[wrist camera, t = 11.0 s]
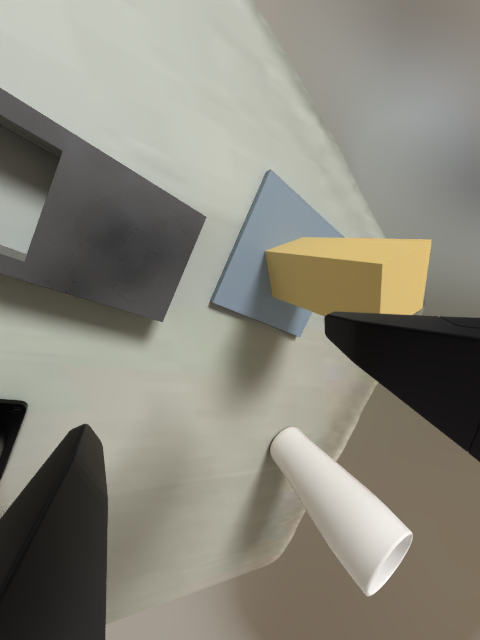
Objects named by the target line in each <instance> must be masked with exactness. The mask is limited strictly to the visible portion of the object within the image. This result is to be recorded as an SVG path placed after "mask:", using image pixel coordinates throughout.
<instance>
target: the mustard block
mask: <svg viewBox="0 0 480 640" xmlns="http://www.w3.org/2000/svg"><path fill="white" fill-rule="evenodd" d="M431 242H432V240H418V239H370V238H321V237H302V238H299V239H296V240H294V241H291V242H288V243H285V244H283V245H280V246H277V247H274V248H272V249H269V250H266V251H265V255H266V261H267V266H268V272H269V278H270V284H271V289H272V295H273V297H275V298H277V299H280V300H283V301H285V302H288V303H291V304H293V305H296V306H299V307H301V308H304V309H307V310H309V311H312V312H315V313H317V314H320V315H323V316H326V315H327V314H329V313H331V312H334V311H337V312H358V313H379V314H400V315H413V314H414V313H416V312H417V311H419V310H420V309H422V306H423V299H424V292H425V284H426V277H427V270H428V263H429V256H430V248H431Z"/></svg>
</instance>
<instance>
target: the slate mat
mask: <svg viewBox="0 0 480 640" xmlns="http://www.w3.org/2000/svg"><path fill="white" fill-rule="evenodd" d="M302 237H321V238H345V237H343V236H342V235H341V234H340V233H339V232H338V231H337V230H336V229H335V228H334V227H333V226H332V225H330V224H329V223H328V222H327V221H326V220H325V219H324V218H323V217H322V216H321V215H320V214H319V213H317V212H316V211H315V210H314V209H313V208H312V207H311V206H310V205H309V204H308V203H307V202H306V201H304V200H303V199H302V198H301V197H300V196H299V195H298V194H297V193H296V192H295V191H294V190H293V189H291V188H290V187H289V186H288V185H287V184H286V183H285V182H284V181H283V180H282V179H281V178H280V177H278V176H277V175H276V174H275V173H274V172H273V171H272V170H268V171H267V172H266V174H265V176H264V179H263V181H262V183H261V185H260V188H259V190H258V192H257V195H256V197H255V199H254V202H253V204H252V206H251V208H250V211H249V213H248V215H247V218H246V220H245V222H244V225H243V227H242V229H241V231H240V234H239V236H238V238H237V241H236V243H235V245H234V247H233V250H232V252H231V254H230V257H229V259H228V261H227V264H226V266H225V268H224V270H223V273H222V275H221V277H220V280H219V282H218V284H217V287H216V289H215V291H214V293H213V296H212V298H211V300H210V301H211V302H213V303H215V304H218V305H220V306H223V307H225V308H228V309H230V310H233V311H235V312H238V313H240V314H243V315H245V316H248V317H250V318H253V319H255V320H258V321H260V322H263V323H266V324H268V325H271V326H273V327H276V328H278V329H281V330H283V331H286V332H288V333H291V334H293V335H296V336H298V337H300V336H301V334H302V332H303V330H304V328H305V326H306V324H307V321H308V319H309V317H310V315H311V313H312V311H309V310H307V309H304V308H301V307H299V306H296V305H293V304H291V303H288V302H285V301H283V300H280V299H277V298H275V297H273V295H272V289H271V284H270V278H269V272H268V266H267V261H266V255H265V251H266V250H269V249H272V248H274V247H277V246H280V245H283V244H285V243H288V242H291V241H294V240H296V239H299V238H302Z"/></svg>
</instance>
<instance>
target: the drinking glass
mask: <svg viewBox="0 0 480 640" xmlns="http://www.w3.org/2000/svg"><path fill="white" fill-rule="evenodd" d="M270 454H271V457H272V459H273V460H274V462H275V463H276V464H277V466H278V467H279V468H280V470H281V471H282V473H283V474H284V476H285V478H286V479H287V481H288V482H289V484H290V485H291V487H292V489H293V490H294V492H295V493H296V495H297V496H298V498H299V500H300V501H301V503H302V504H303V506H304V508H305V509H306V511H307V512H308V514H309V515H310V517H311V519H312V520H313V522H314V523H315V525H316V527H317V528H318V530H319V531H320V533H321V535H322V536H323V538H324V539H325V541H326V542H327V544H328V545H329V547H330V548H331V550H332V551H333V552H334V554H335V555H336V557H337V558H338V560H339V561H340V562H341V564H342V565H343V566H344V568H345V569H346V570H347V572H348V573H349V574H350V576H351V577H352V578H353V580H354V581H355V582H356V583H357V584H358V586H359V587H360V589H361V590H362V591H363V592H364V594H365V595H366V596H371V595H373V594H374V593H376V592H377V591H378V590H379V589H380V588H381V587H382V586H383V585H384V583H385V582H386V581H387V580H388V579H389V578H390V576H391V575H392V574H393V573H394V571H395V570H396V568H397V567H398V566H399V564H400V563H401V561H402V559H403V558H404V556H405V554H406V553H407V551H408V549H409V547H410V545H411V542H412V539H413V534H412V532H411V531H410V530H409V529H408V528H407V527H406V526H405V525H404V524H403V523H402V522H401V521H400V520H399V519H398V518H397V516H396V515H394V514H393V512H391V510H390V509H389V508H388V507H387V506H386V505H384V504H383V503H382V502H381V501H380V500H379V499H378V498H377V497H376V496H375V495H374V494H373V493H371V491H369V490H368V489H367V488H366V487H365V486H364V485H363V484H361V483H360V482H359V481H358V480H357V479H356V478H354V477H353V476H352V475H350V473H348V472H347V471H346V470H345V469H344V468H343V467H341V466H340V465H339V464H338V463H337V462H335V461H334V460H333V459H332V458H331V457H329V456H328V455H327V454H326V453H325V452H324V451H322V450H321V449H320V448H319V447H318V446H317V445H315V444H314V443H313V442H312V441H311V440H310V439H308V438H307V437H306V436H305V435H304V434H303V433H302V432H301V431H300V430H299V429H298V428H296V427H288V428H286V429H284V430H282V431H281V432H280V433H278V434H277V436H276V437H275V438H274V440H273V442H272V444H271V447H270Z"/></svg>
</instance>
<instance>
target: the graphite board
mask: <svg viewBox="0 0 480 640" xmlns="http://www.w3.org/2000/svg"><path fill="white" fill-rule="evenodd" d="M0 125H2V126H4V127H6V128H7V129H9V130H11V131H13V132H15V133H16V134H18V135H20V136H22V137H23V138H25V139H27V140H29V141H31V142H32V143H34V144H36V145H38V146H39V147H41V148H43V149H45V150H47V151H48V152H50V153H52V154H54V155H55V156H57V157H59V158H60V161H59V163H58V166H57V169H56V172H55V175H54V178H53V181H52V184H51V186H50V189H49V192H48V195H47V198H46V201H45V204H44V207H43V210H42V212H41V215H40V218H39V221H38V224H37V227H36V230H35V233H34V235H33V238H32V241H31V244H30V247H29V250H28V253H27V254H24V253H21V252H18V251H15V250H13V249H10V248H7V247H4V246H1V245H0V274H3V275H7V276H10V277H13V278H17V279H20V280H23V281H27V282H30V283H33V284H37V285H40V286H43V287H47V288H50V289H53V290H57V291H60V292H63V293H67V294H70V295H73V296H77V297H80V298H83V299H87V300H90V301H94V302H97V303H100V304H104V305H107V306H110V307H114V308H117V309H120V310H124V311H127V312H130V313H134V314H137V315H140V316H144V317H147V318H150V319H154V320H157V321H160V322H163V320H164V317H165V315H166V313H167V310H168V308H169V305H170V303H171V301H172V298H173V296H174V293H175V291H176V289H177V286H178V284H179V282H180V279H181V277H182V274H183V272H184V270H185V267H186V265H187V262H188V260H189V258H190V255H191V253H192V250H193V248H194V246H195V243H196V241H197V238H198V236H199V234H200V231H201V229H202V227H203V224H204V222H205V219H206V216H204V215H202V214H201V213H199V212H198V211H196V210H194V209H193V208H191V207H190V206H188V205H186V204H185V203H183V202H182V201H180V200H178V199H177V198H175V197H174V196H172V195H170V194H169V193H167V192H166V191H164V190H162V189H161V188H159V187H158V186H156V185H154V184H153V183H151V182H150V181H148V180H147V179H145V178H143V177H142V176H140V175H139V174H137V173H135V172H134V171H132V170H131V169H129V168H127V167H126V166H124V165H123V164H121V163H119V162H118V161H116V160H115V159H113V158H111V157H110V156H108V155H107V154H105V153H103V152H102V151H100V150H99V149H97V148H95V147H94V146H92V145H91V144H89V143H87V142H86V141H84V140H83V139H81V138H79V137H78V136H76V135H75V134H73V133H71V132H70V131H68V130H67V129H65V128H64V127H62V126H60V125H59V124H57V123H56V122H54V121H52V120H51V119H49V118H48V117H46V116H44V115H43V114H41V113H40V112H38V111H36V110H35V109H33V108H32V107H30V106H28V105H27V104H25V103H24V102H22V101H20V100H19V99H17V98H16V97H14V96H12V95H11V94H9V93H8V92H6V91H4V90H3V89H1V88H0Z"/></svg>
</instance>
